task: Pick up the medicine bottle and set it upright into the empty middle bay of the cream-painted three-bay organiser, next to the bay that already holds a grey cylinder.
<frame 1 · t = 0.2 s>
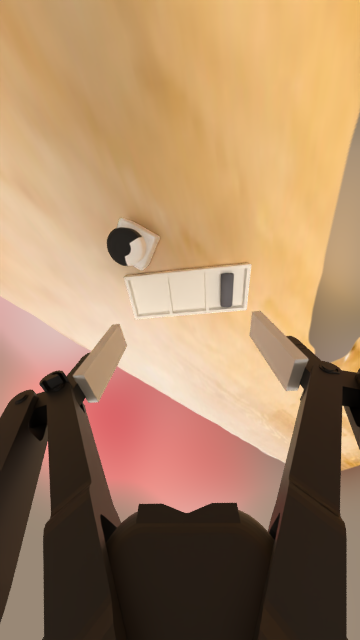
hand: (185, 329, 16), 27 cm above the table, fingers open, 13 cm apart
medicine bottle: (140, 244, 37), on the table
grey cylinder: (225, 288, 41), resting on organiser
organiser: (187, 291, 42), on the table
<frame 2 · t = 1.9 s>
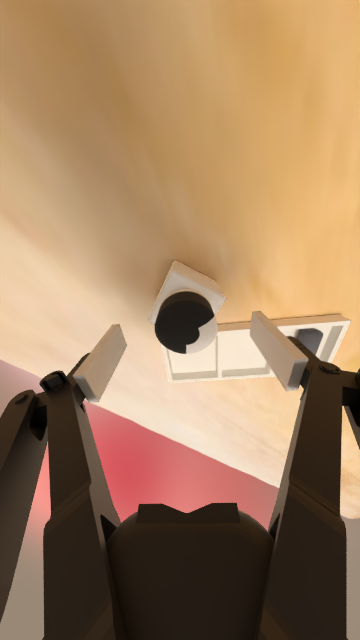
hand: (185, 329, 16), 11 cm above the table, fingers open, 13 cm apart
medicine bottle: (185, 290, 25), on the table
grey cylinder: (299, 345, 29), resting on organiser
organiser: (243, 348, 30), on the table
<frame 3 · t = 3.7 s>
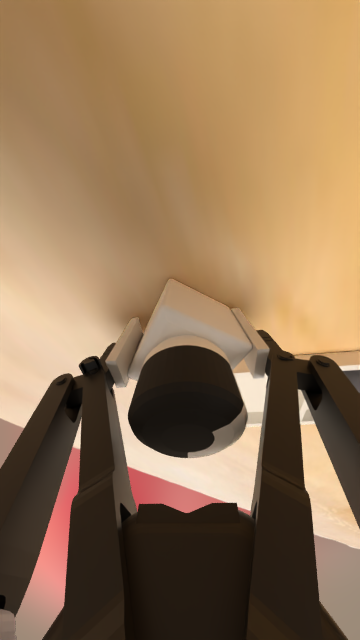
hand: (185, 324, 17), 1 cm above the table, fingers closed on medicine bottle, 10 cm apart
medicine bottle: (185, 318, 18), on the table, touching gripper
grey cylinder: (336, 386, 22), point 1 cm above the table, tilted 13°, touching organiser
organiser: (261, 387, 23), on the table
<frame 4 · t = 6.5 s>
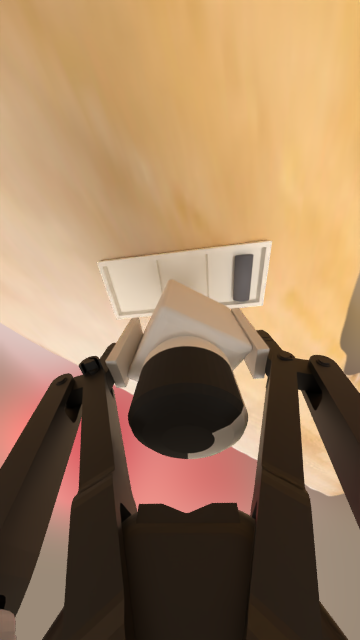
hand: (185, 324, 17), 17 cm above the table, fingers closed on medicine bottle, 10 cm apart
medicine bottle: (185, 318, 18), point 16 cm above the table, touching gripper
grey cylinder: (235, 277, 31), point 1 cm above the table, tilted 38°, touching organiser
organiser: (184, 282, 32), on the table
when the fingers open (4 cm above the table, at t = 9.7 s): medicine bottle stays where it is, resting on organiser.
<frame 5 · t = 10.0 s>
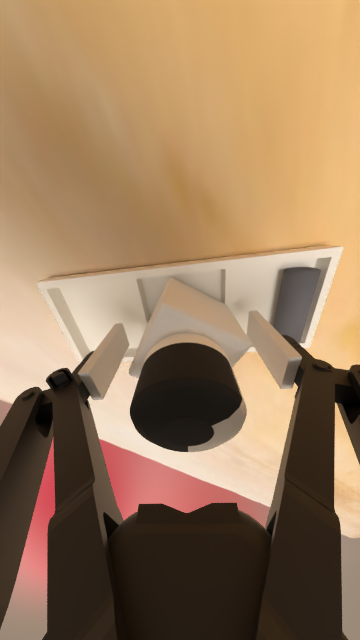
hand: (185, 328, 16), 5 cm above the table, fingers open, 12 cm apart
medicine bottle: (185, 317, 18), point 2 cm above the table, touching organiser
grey cylinder: (277, 307, 18), point 2 cm above the table, tilted 83°, touching organiser
organiser: (184, 310, 20), on the table
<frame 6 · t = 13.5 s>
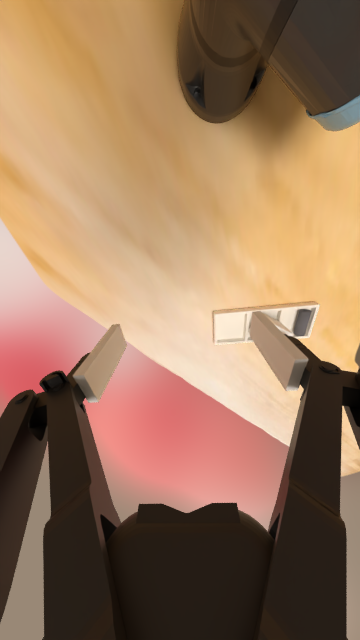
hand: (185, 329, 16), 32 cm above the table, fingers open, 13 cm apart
medicine bottle: (263, 325, 50), point 2 cm above the table, touching organiser
grey cylinder: (296, 322, 50), point 1 cm above the table, tilted 69°, touching organiser
organiser: (260, 322, 52), on the table
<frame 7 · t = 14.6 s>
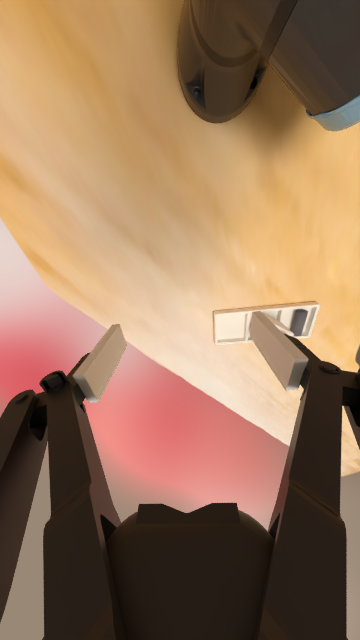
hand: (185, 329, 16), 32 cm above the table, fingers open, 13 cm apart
medicine bottle: (263, 325, 50), point 2 cm above the table, touching organiser
grey cylinder: (293, 320, 50), point 1 cm above the table, tilted 26°, touching organiser
organiser: (260, 322, 52), on the table
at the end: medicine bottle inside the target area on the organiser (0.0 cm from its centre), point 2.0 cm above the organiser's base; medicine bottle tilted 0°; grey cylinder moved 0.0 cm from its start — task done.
